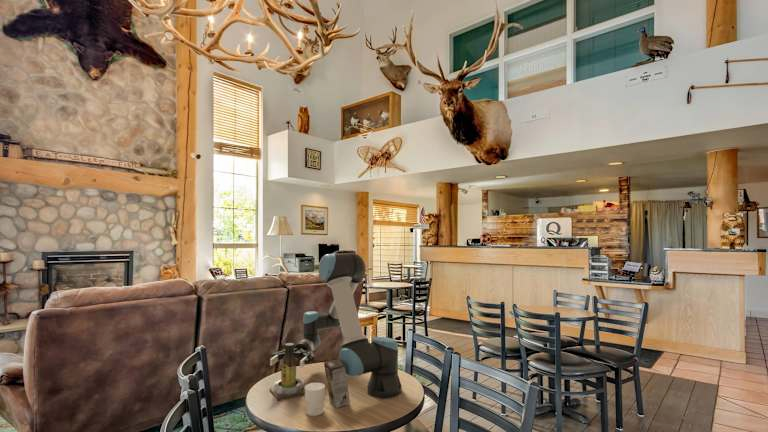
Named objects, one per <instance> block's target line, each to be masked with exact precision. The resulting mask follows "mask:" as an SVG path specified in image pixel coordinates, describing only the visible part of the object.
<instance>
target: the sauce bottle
mask: <svg viewBox="0 0 768 432" xmlns="http://www.w3.org/2000/svg"><path fill="white" fill-rule="evenodd" d="M294 347H295V343H293V342H287V343H285V344H284V350H285V356H284V357H283V359H281V371H280V372H281V373H280V375H281V378H280V380H281V386H282V387H290V386H295V385H296V379H297V358H295V356H294Z"/></svg>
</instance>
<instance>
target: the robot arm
mask: <svg viewBox="0 0 768 432" xmlns="http://www.w3.org/2000/svg"><path fill="white" fill-rule="evenodd" d="M318 263H319V264H318V275H319V278H320V279H321V280H322V281H325V282H326V285H327V287H329V288H330V289H331V292H332V297H333V301H332V302H331V306H330V308H329V310H328V311H327V313H324V314H323V313H322V314H319V312H318V311H306V312H304V313H303V317H302V326H303V327H302V330H303V333H302V340H300V341H299V342H298V343H297V344H295V345H294V356H295V358H296V359H298V360H300V361H299V368H300V369H301V368H303V367H304V366H305V365H307V364H309V363H310V362H311V363H315V354H314V351H315V350H317V349H318V347H319V346H320V345H321V338H320V336H319V331H321V330H322V331H323V330H326V329H334V328H335V329H336V328H339V327H340V331H341V335H342V338H343V342H342V343H341V349H340V351H339V352H338V359H339V360H340V361H341V362H342V363H343V364H344V365H345V369H346V376H347V377H358V376H362V375H364V374H368V373H370V377H369V380H368V383H367V386H366V387H367V389H366V390H367V393H368V395H370V396H372V397H374V398H377V399H378V398H379V399H389V398H395V396H396V397H398V396H400V395H401V394H402V389H403V387H402V383H401V380H400V376H399V372H398V370H399V367H398V366H399V359H398V358H399V348H398V346H399V344H398V342H397V340H395V339H394V338H391V337H384V336H374V337H372V338H371V340H370V342H369V338H368V337H367V336H366V335H364V333H363V329H362V325H361V321H360V318H359V314H358V311H357V306H356V302H355V299H354V293H355V291H356V290H357V288H358V286H359V284H361V283H362V282H363V280H364V278H365V276H366V271H367V269H366V268H367V267H366V266H367V265H366V263H365V260H364V259H363V257H362V256H360V255H359V254H358V253H355V252H342V253H341V252H340V253H338V252H337V253H333V252H331V253H327V254H324V255H323V256H322V257H321V258H320V261H319V262H318ZM284 356H285V349H284V350H280V351H277V352H273V353H271V358H270V359H269V366H274V364H276V363H277V362H279V361H280V360H282V359H283V357H284ZM399 394H400V395H399Z"/></svg>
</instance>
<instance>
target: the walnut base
mask: <svg viewBox="0 0 768 432" xmlns="http://www.w3.org/2000/svg"><path fill="white" fill-rule="evenodd" d="M269 391H270V393H271V394H272V395H273V397H274V398H275V399H276V401H279V402H280V401H283V400H288V399H294V398H297V397H303V396H305V387H304V386H302V390H301V392H299V393H297V394H293V395H279V394H276V393H275V392H274V386H271V387H269Z"/></svg>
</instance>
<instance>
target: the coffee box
mask: <svg viewBox="0 0 768 432" xmlns="http://www.w3.org/2000/svg"><path fill="white" fill-rule="evenodd" d="M323 365H324V371H325V378H326V380H325V381H326V385H327V392H328V393H327V395H328V399H329V401H330V402H331V404H332V405H333V406H334V407H335V408H336V409H338V408H341V407H343V406H345V405H349V404H351V402H350V401H351V400H350V395H349V394H350V393H349V392H350V391H349V385H348V378H347V377H348V375H347V374H346V369H345V365H344V364H343V363H342V362H341V361H340V360H339V358H336V359H332V360H328V361H325V362H323Z"/></svg>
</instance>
